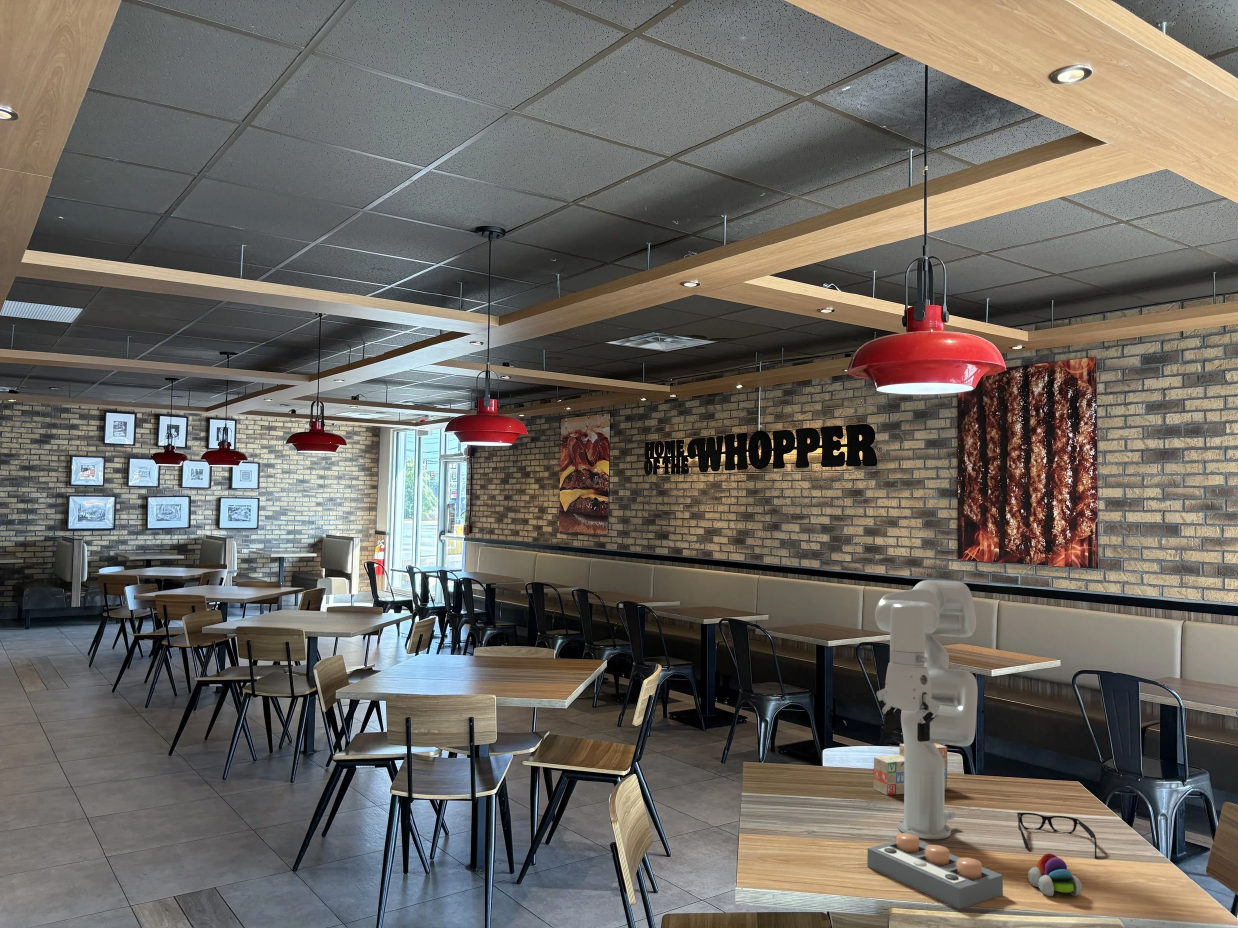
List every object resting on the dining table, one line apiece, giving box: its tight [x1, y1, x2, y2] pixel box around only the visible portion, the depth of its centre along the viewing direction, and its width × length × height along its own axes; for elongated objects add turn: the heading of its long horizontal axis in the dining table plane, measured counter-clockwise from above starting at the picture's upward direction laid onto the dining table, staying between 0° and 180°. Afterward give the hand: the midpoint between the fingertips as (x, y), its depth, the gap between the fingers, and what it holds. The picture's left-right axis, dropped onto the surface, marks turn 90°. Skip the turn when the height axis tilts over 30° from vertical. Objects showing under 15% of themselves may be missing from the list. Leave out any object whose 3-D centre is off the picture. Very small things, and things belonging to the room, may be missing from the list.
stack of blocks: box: [873, 743, 949, 796], centre depth 252 cm, size 21×6×12 cm, turn 111°
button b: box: [926, 844, 950, 867], centre depth 189 cm, size 5×5×3 cm
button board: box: [866, 840, 1004, 910], centre depth 188 cm, size 14×24×4 cm, turn 32°
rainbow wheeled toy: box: [1027, 853, 1083, 897], centre depth 185 cm, size 8×10×7 cm
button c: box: [957, 857, 983, 881], centre depth 182 cm, size 5×5×3 cm
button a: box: [896, 832, 920, 854], centre depth 196 cm, size 5×5×3 cm
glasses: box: [1016, 811, 1098, 860], centre depth 213 cm, size 17×18×5 cm
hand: (906, 736), depth 195 cm, fingers open, 9 cm apart
